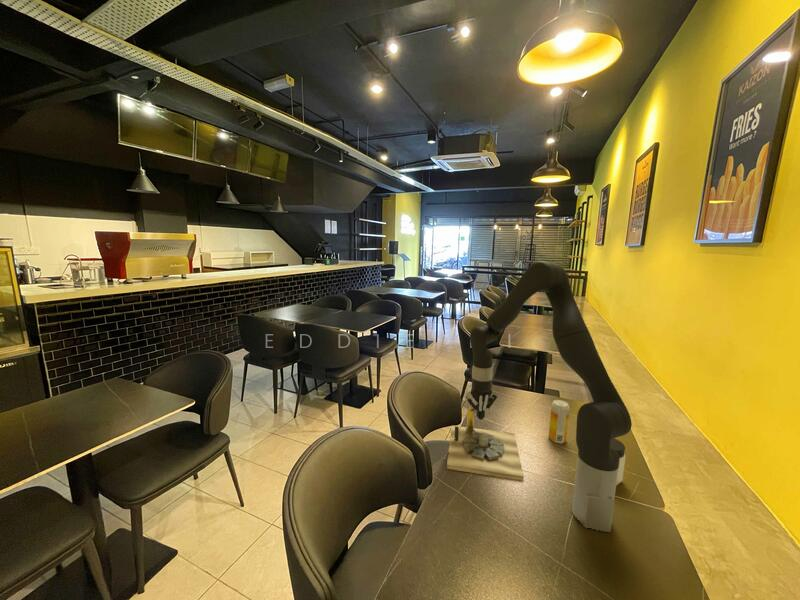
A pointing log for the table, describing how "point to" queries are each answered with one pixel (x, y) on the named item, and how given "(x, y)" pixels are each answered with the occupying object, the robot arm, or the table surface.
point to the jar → (620, 450)
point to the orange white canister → (559, 421)
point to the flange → (473, 439)
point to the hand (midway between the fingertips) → (480, 418)
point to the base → (500, 467)
